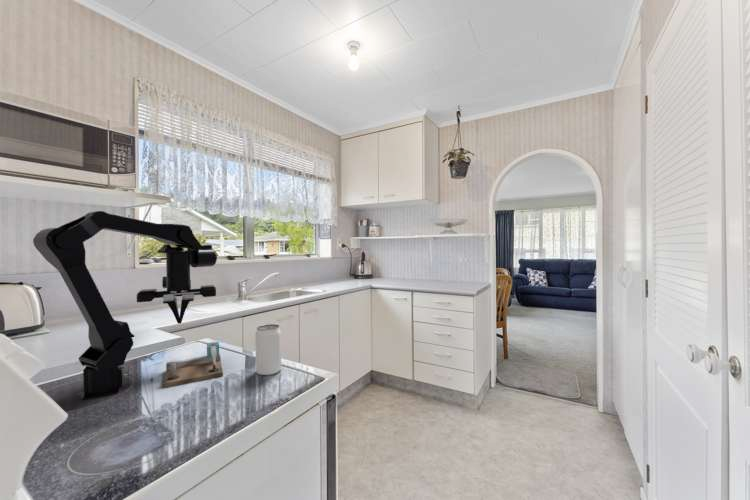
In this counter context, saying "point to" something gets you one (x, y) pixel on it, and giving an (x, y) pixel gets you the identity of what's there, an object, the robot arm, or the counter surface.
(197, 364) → the plate
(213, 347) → the leg
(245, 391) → the counter surface
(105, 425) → the counter surface
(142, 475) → the counter surface
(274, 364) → the can
